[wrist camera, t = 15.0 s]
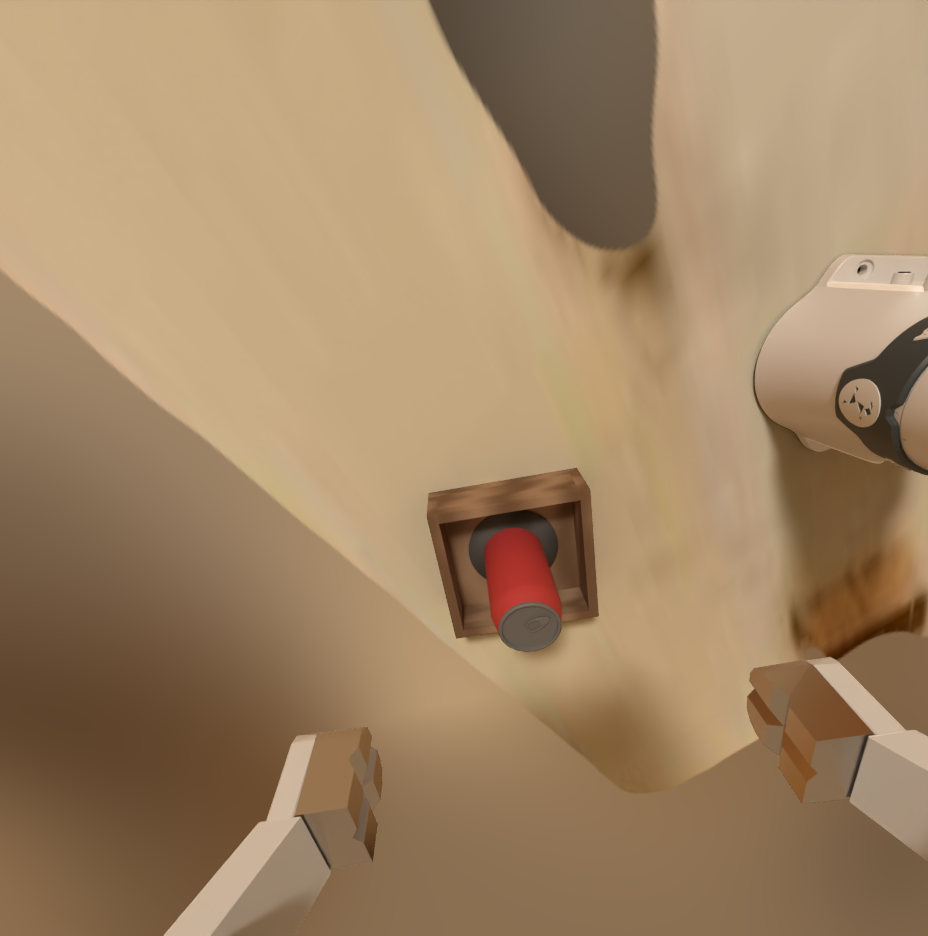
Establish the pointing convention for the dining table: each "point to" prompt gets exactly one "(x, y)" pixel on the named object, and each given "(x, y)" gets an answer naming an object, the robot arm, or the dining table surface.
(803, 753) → the robot arm
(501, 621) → the beer can
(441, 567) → the walnut box
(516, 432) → the dining table surface
